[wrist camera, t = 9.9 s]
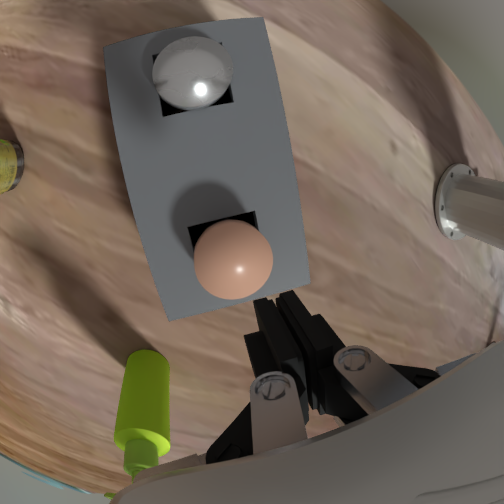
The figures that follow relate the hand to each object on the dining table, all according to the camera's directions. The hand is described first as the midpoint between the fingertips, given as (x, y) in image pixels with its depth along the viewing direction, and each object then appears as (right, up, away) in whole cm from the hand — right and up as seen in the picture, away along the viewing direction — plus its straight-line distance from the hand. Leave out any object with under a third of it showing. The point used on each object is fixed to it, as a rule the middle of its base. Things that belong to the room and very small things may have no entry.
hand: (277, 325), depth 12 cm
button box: (-6, +12, +16) cm, 21 cm away
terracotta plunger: (-4, +5, +14) cm, 15 cm away
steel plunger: (-6, +17, +10) cm, 21 cm away
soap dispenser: (-15, -12, +23) cm, 30 cm away
